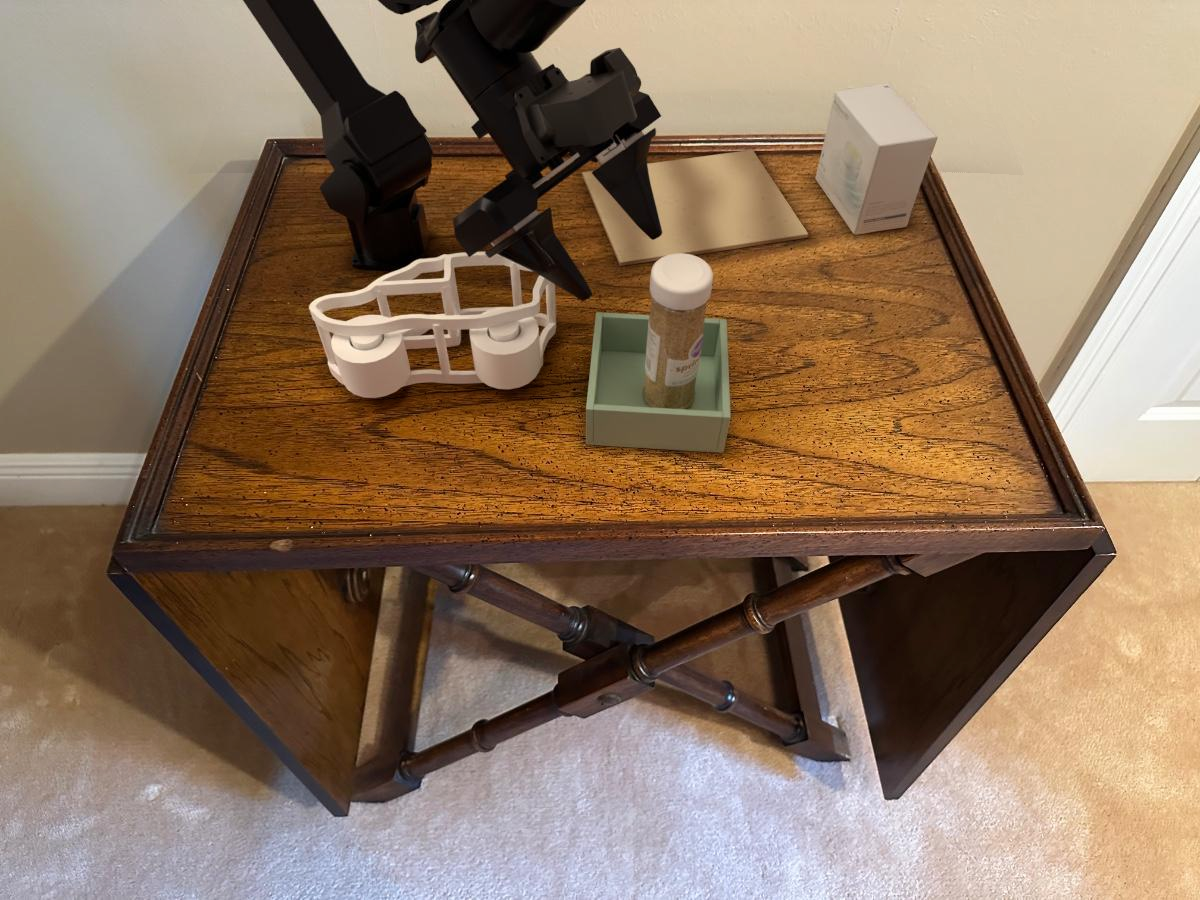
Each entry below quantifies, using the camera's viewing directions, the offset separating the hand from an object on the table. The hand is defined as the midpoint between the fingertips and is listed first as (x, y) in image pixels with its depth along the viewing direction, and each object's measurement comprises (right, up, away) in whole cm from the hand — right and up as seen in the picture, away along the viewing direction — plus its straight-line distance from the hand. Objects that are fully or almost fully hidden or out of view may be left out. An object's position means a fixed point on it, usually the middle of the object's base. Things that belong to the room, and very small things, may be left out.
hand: (624, 266), depth 64 cm
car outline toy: (-16, -6, +10) cm, 19 cm away
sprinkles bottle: (+4, -10, +7) cm, 13 cm away
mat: (+8, +12, +25) cm, 29 cm away
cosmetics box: (+26, +12, +26) cm, 38 cm away
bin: (+3, -10, +7) cm, 12 cm away
